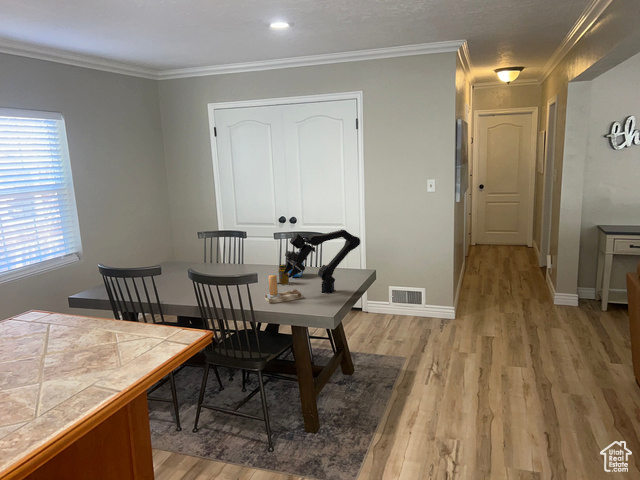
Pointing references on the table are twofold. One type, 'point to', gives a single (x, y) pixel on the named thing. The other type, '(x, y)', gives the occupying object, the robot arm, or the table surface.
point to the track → (285, 296)
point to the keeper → (273, 287)
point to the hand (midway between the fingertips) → (286, 275)
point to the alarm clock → (298, 273)
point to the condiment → (283, 276)
